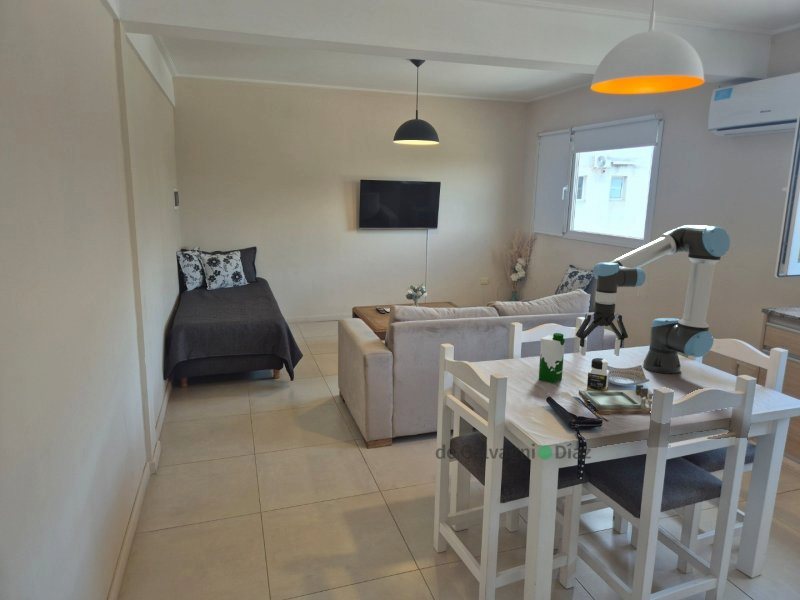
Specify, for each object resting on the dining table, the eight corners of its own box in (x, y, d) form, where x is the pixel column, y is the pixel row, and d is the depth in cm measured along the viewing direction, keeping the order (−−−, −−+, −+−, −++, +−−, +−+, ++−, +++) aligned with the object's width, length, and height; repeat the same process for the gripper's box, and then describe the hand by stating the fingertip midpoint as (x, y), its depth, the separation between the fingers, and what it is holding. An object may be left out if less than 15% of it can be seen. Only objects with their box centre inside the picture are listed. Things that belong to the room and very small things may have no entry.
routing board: (648, 393, 213) (649, 382, 212) (676, 413, 193) (678, 401, 192) (578, 393, 211) (579, 382, 210) (600, 413, 191) (601, 402, 190)
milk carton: (555, 384, 220) (559, 337, 216) (535, 379, 226) (538, 333, 222) (564, 379, 227) (568, 333, 223) (544, 374, 232) (547, 329, 228)
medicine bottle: (586, 389, 216) (589, 360, 214) (589, 383, 222) (592, 355, 220) (605, 392, 213) (608, 363, 210) (607, 386, 219) (610, 358, 217)
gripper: (631, 301, 215) (625, 352, 219) (570, 300, 213) (565, 351, 218) (640, 304, 208) (634, 357, 212) (577, 303, 206) (572, 357, 210)
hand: (599, 354), depth 215 cm, fingers open, 13 cm apart
